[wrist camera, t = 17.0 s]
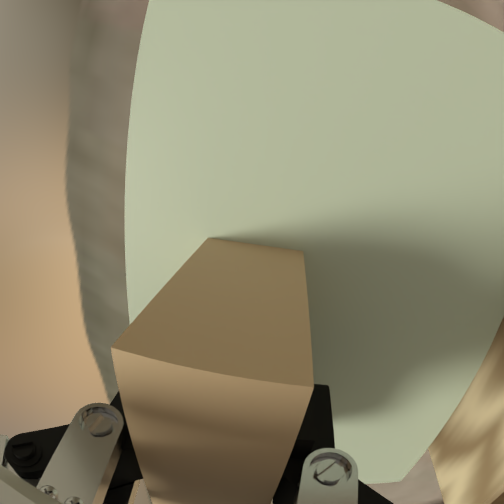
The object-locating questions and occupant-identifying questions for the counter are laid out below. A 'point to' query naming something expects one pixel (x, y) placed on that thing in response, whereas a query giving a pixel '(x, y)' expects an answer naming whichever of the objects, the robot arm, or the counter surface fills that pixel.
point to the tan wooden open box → (475, 437)
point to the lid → (306, 234)
